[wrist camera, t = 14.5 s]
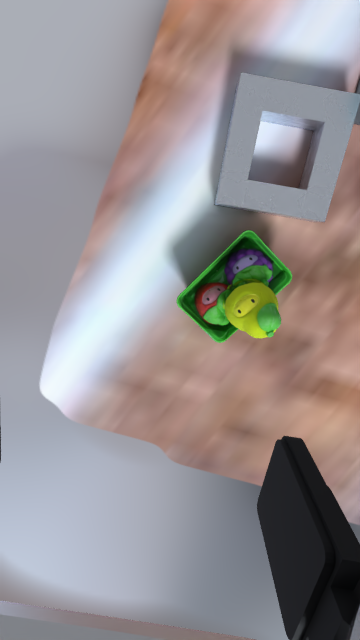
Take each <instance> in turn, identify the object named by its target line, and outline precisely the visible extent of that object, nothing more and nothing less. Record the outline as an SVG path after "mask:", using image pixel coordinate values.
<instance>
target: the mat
mask: <svg viewBox="0 0 360 640" xmlns="http://www.w3.org/2000/svg"><path fill="white" fill-rule="evenodd" d="M356 94H360V79H359V83H358V86H357V90H356ZM354 124H357V125H360V103H359V106H358V110H357V113H356V117H355V120H354Z"/></svg>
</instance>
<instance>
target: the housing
mask: <svg viewBox="0 0 360 640" xmlns="http://www.w3.org/2000/svg"><path fill="white" fill-rule="evenodd" d="M359 103H360V94H356V93H350V92H345V91H339V90H334V89H329V88H323V87H318V86H312V85H307V84H301V83H296V82H291V81H285V80H280V79H274V78H269V77H264V76H258V75H253V74H247V73H242V72H241V74H240V77H239V80H238V83H237V87H236V92H235V97H234V103H233V108H232V113H231V119H230V124H229V129H228V135H227V140H226V145H225V151H224V156H223V161H222V167H221V172H220V177H219V183H218V188H217V193H216V199H215V204H214V205H220V206H225V207H231V208H237V209H242V210H248V211H254V212H259V213H265V214H271V215H276V216H282V217H288V218H293V219H299V220H305V221H310V222H325V219H326V216H327V212H328V209H329V205H330V202H331V199H332V195H333V192H334V188H335V185H336V182H337V178H338V175H339V171H340V168H341V165H342V161H343V158H344V154H345V151H346V147H347V144H348V141H349V137H350V134H351V130H352V127H353V124H354V120H355V117H356V113H357V110H358V106H359ZM260 121H263V122H269V123H274V124H280V125H285V126H291V127H296V128H302V129H307V130H313V131H314V132H313V135H312V139H311V143H310V147H309V151H308V155H307V158H306V162H305V166H304V170H303V174H302V178H301V181H300V185H299V189H298V188H292V187H286V186H281V185H275V184H270V183H264V182H258V181H253V180H248V176H249V172H250V167H251V162H252V157H253V153H254V148H255V143H256V139H257V134H258V129H259V125H260Z"/></svg>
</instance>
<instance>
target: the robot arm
mask: <svg viewBox="0 0 360 640" xmlns="http://www.w3.org/2000/svg"><path fill="white" fill-rule="evenodd" d="M0 430H1V427H0ZM0 433H1V431H0ZM0 461H1V434H0ZM257 511H258V515H259V520H260V525H261V529H262V532H263V537H264V542H265V546H266V550H267V554H268V559H269V562H270V567H271V571H272V576H273V580H274V584H275V589H276V593H277V597H278V601H279V606H280V609H281V614H282V618H283V623H284V626H285V631H286V634H287V637H288V639H289V640H360V544H359V542H358V540H357V538H356V536H355V534H354V532H353V531H352V529H351V527H350V525H349V523H348V521H347V519H346V517H345V515H344V514H343V512H342V510H341V508H340V506H339V504H338V502H337V500H336V499H335V497H334V495H333V493H332V491H331V490H330V488H329V487H328V486H327V485H326V483H325V481H324V479H323V477H322V476H321V474H320V472H319V470H318V468H317V466H316V464H315V462H314V460H313V458H312V456H311V455H310V453H309V451H308V449H307V447H306V445H305V443H304V441H303V440H302V439H301V438H295V437H289V436H283V437H282V439H281V440H279V439H278V440H277V441H276V443H275V447H274V450H273V453H272V456H271V460H270V463H269V466H268V469H267V472H266V476H265V479H264V482H263V485H262V489H261V492H260V495H259V498H258V503H257ZM0 640H255V639H249V638H244V637H238V636H231V635H225V634H219V633H212V632H205V631H199V630H193V629H186V628H180V627H174V626H167V625H160V624H154V623H148V622H141V621H134V620H128V619H121V618H115V617H108V616H101V615H94V614H88V613H81V612H74V611H67V610H61V609H54V608H47V607H41V606H34V605H27V604H20V603H13V602H6V601H0Z"/></svg>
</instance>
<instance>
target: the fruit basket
mask: <svg viewBox="0 0 360 640" xmlns="http://www.w3.org/2000/svg"><path fill="white" fill-rule="evenodd" d="M291 280H292V273H291V272H290V270H289V269H288V268H287V267H286V266H285V265H284V264H283V263H282V262H281V261H280V260H279V258H278V257H277V256H276V255H275V254H274V253H273V252H272V251H271V250H270V249H269V248H268V247H267V246H266V244H265V243H264V242H263V241H262V240H261V239H260V238H259V237H258V236H257V235H256V234H255V233H254V232H253V231H251V230H247V231H244V232H243V233H242V234H241V235H240V236H239V237H238V238H237V239H236V240H235V241H234V242H233V243H232V244H231V245H230V246H229V247H228V248H227V249H226V250H225V251H224V252H223V253H222V254H221V255H220V256H219V257H217V259H216V260H215V261H214V262H213V263H211V264H210V265H209V266H208V267H207V268H206V269H205V270H204V271H203V272H202V273H201V274H200V275H199V276H198V277H197V278H196V279H195V280H194V281H193V282H192V283H191V284H190V285H189V286H188V287H187V288H186V289H185V290H184V291H183V292H182V293H181V294H180V295H179V296H178V298H177V305H178V306H179V307H180V308H181V309H182V310H183V311H184V312H185V313H186V314H187V315H188V316H189V317H190V318H191V319H193V320H194V321H195V322H196V323H197V324H198V325H199V326H200V327H201V328H202V329H203V330H204V331H205V332H206V333H207V334H208V335H209V336H210V337H211V338H212V339H213V340H214V341H216V342H218V343H222V342H224V341H226V340H227V339H228V338H229V337H230V336H231V335H232V334H233V333H234V332H236V331H237V330H238V329H240V330H242V331H245V332H247V333H248V334H249V335H250V336H252V337H254V338H265V337H272V336H273V335H274V332H275V331H276V330H277V328H279V326H280V324H281V317H280V314H279V312H278V301H277V298H276V295H277V294H278V293H279V292H280V291H281V290H282V289H283V288H284V287H285V286H287V285H288V284H289V283H290V281H291Z"/></svg>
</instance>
